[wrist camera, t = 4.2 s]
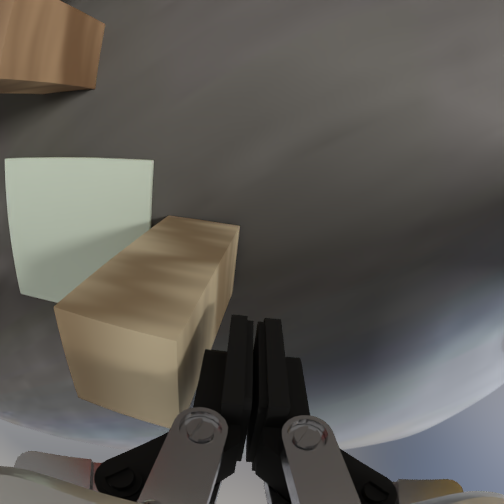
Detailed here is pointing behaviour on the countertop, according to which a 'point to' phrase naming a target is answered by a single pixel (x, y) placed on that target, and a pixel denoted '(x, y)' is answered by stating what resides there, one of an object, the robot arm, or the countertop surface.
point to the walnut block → (47, 47)
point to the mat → (73, 217)
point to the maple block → (150, 318)
